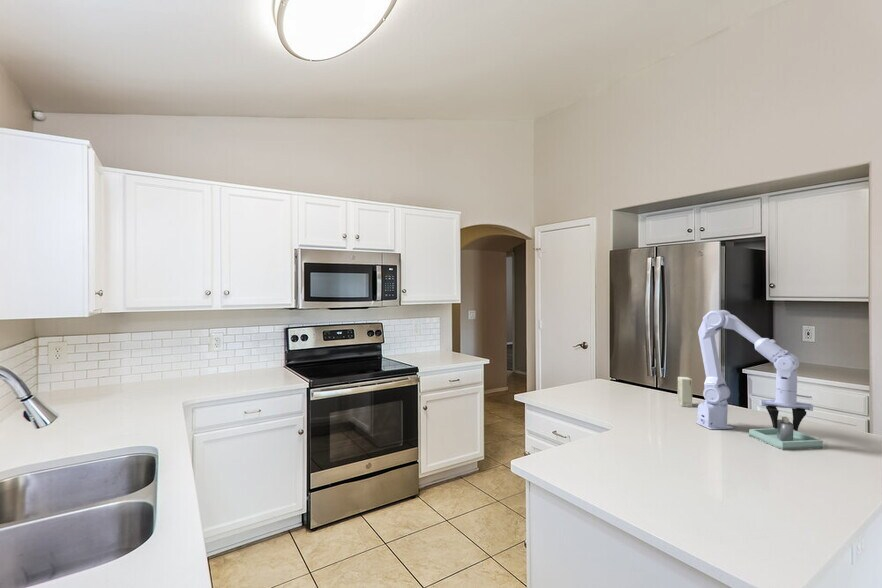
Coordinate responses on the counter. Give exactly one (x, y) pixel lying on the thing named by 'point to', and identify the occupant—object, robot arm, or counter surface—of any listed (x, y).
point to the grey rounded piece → (785, 429)
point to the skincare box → (685, 391)
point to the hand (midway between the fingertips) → (784, 428)
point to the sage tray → (798, 441)
